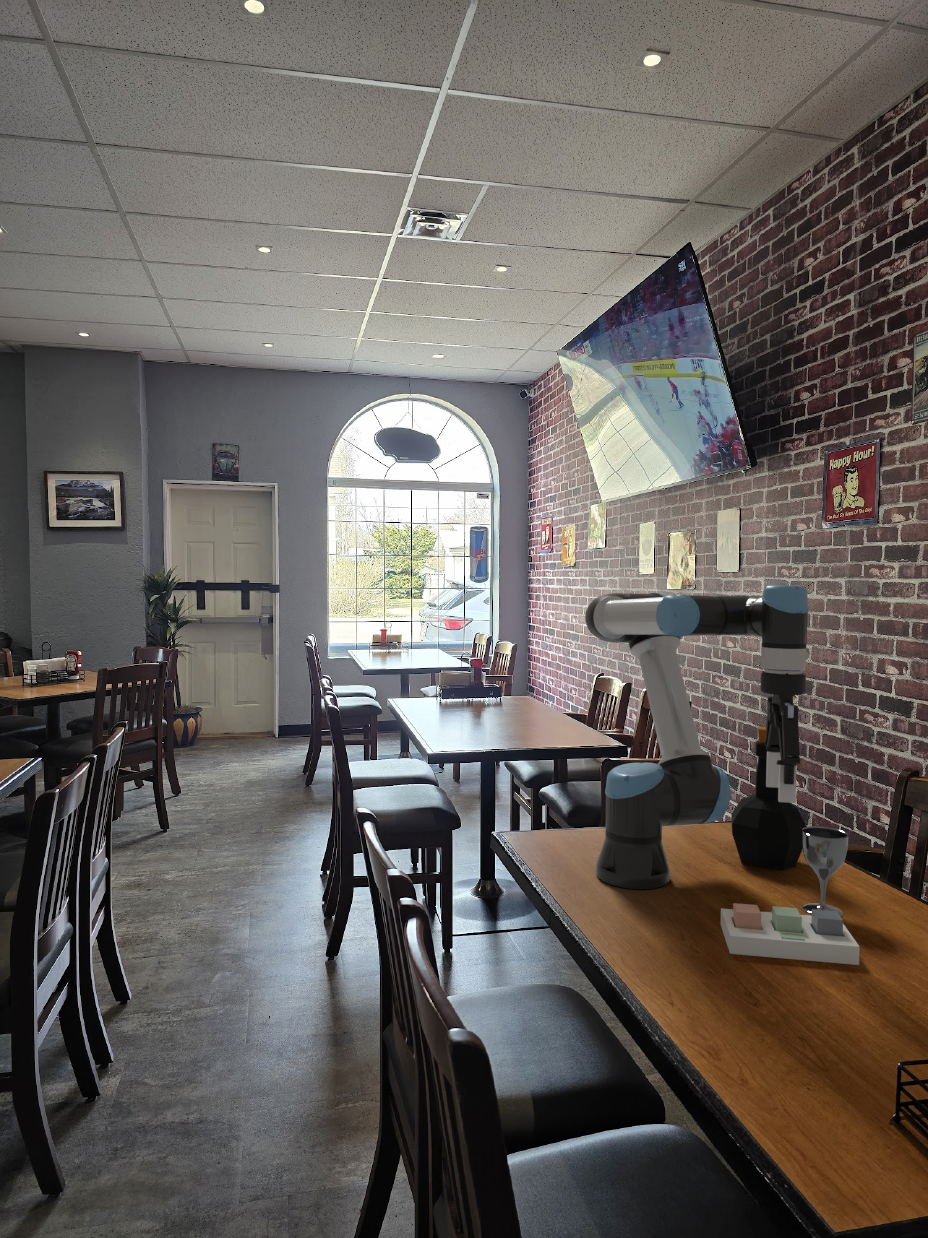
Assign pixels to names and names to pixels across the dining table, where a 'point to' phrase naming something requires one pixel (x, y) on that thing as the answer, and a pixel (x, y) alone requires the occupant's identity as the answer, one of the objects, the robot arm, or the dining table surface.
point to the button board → (789, 941)
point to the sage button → (786, 919)
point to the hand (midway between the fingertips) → (780, 794)
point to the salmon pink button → (746, 916)
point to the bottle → (767, 822)
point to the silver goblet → (824, 858)
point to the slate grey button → (827, 922)
